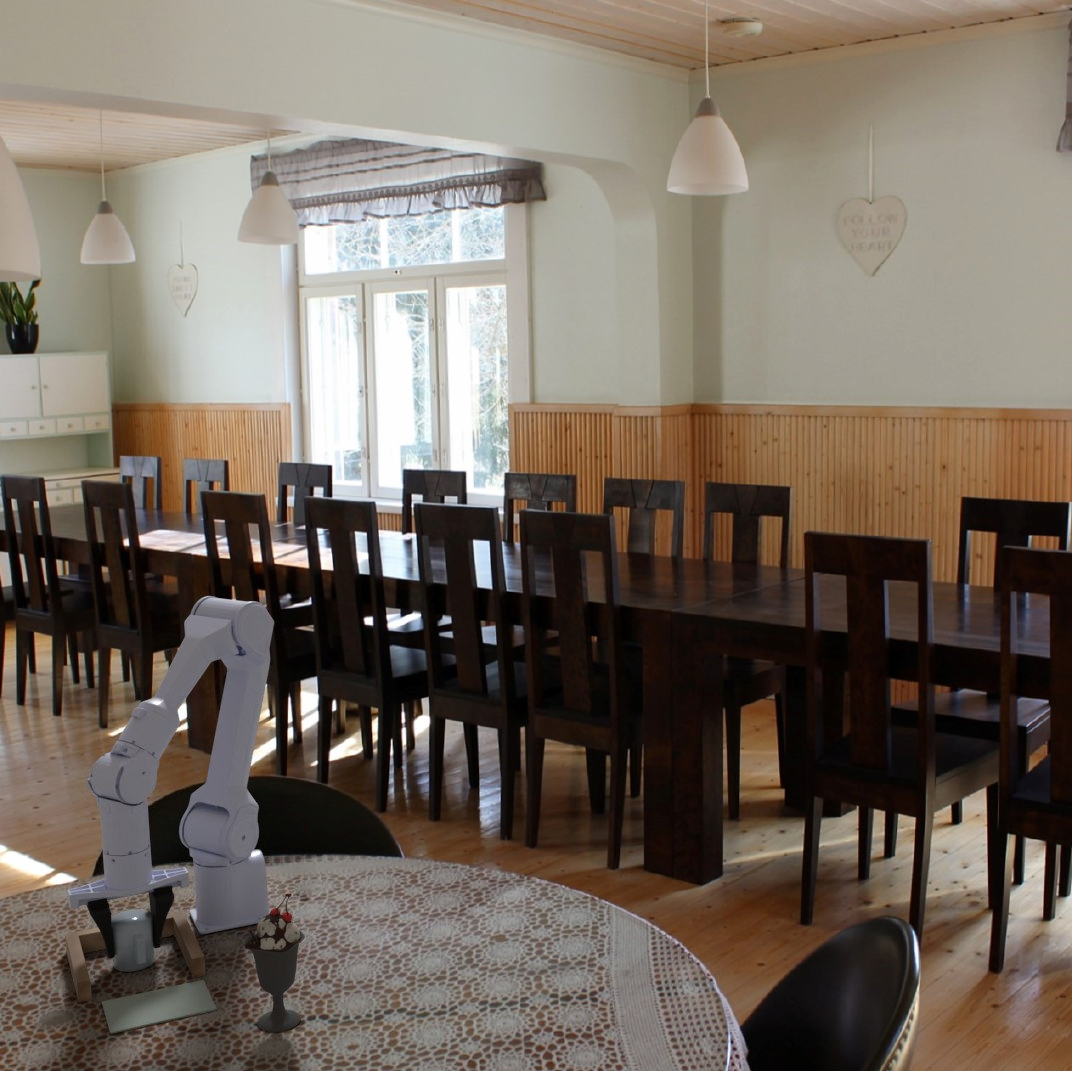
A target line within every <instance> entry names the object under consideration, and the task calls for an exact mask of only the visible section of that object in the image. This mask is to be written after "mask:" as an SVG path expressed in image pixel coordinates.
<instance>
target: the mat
mask: <svg viewBox="0 0 1072 1071" xmlns="http://www.w3.org/2000/svg"><path fill="white" fill-rule="evenodd" d="M101 1005H102V1008H103V1013H104V1016H105V1020H106V1023H107V1026H108V1030H109V1034H110V1035H112V1034H117V1033H121V1032H126V1031H131V1030H134V1029H135V1030H136V1029H140V1028H143V1027H147V1026H148V1027H149V1026H151V1025H156V1024H162V1023H166V1022H169V1021H176V1020H179V1019H183V1018H188V1017H192V1016H197V1015H200V1014H206V1013H209V1012H213V1011H217V1009H218V1008H217V1006H216V1004H215V1001H214V999H213V997H212V995H211V992H210V991H209V989H208V986H207V984H206V982H205V980H204V979H201V980H195V981H191V982H187V983H186V982H185V983H182V984H177V985H172V986H168V987H165V988H164V987H163V988H160V989H154V990H150V991H145V992H141V993H137V994H136V993H135V994H132V995H127V996H122V997H118V998H112V999H108V1000H103V1001H101Z"/></svg>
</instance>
